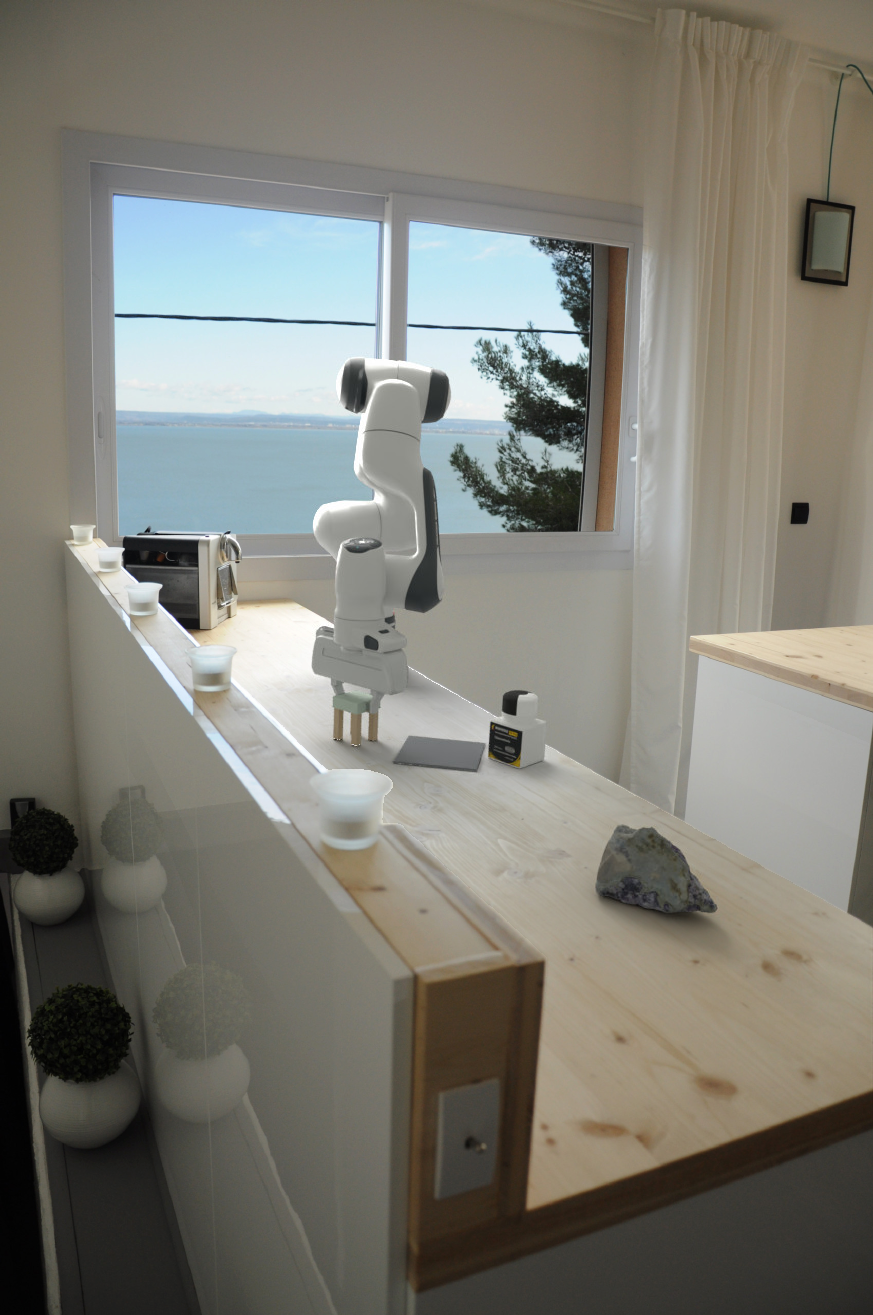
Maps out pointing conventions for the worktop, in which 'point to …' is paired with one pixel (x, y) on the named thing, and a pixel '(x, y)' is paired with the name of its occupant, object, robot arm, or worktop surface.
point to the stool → (354, 715)
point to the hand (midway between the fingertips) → (356, 708)
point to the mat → (441, 753)
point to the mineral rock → (649, 873)
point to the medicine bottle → (517, 731)
